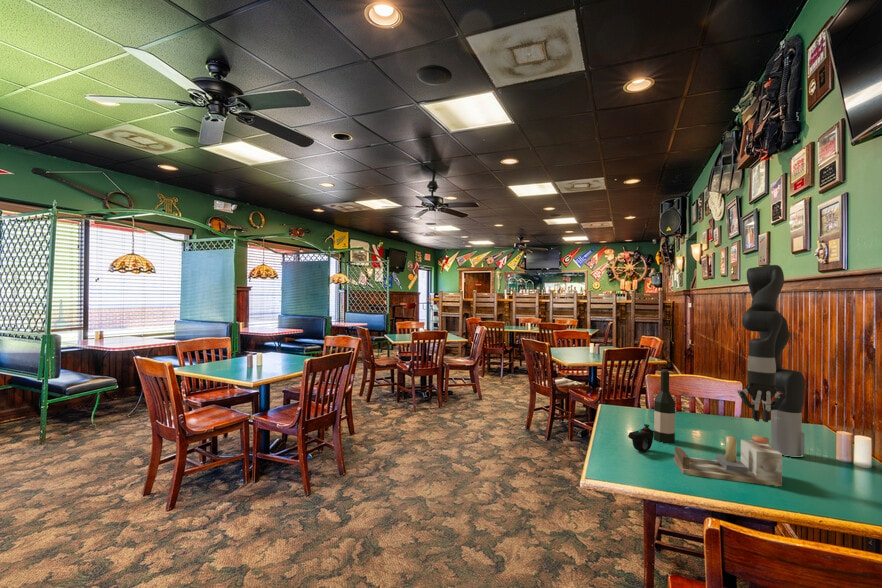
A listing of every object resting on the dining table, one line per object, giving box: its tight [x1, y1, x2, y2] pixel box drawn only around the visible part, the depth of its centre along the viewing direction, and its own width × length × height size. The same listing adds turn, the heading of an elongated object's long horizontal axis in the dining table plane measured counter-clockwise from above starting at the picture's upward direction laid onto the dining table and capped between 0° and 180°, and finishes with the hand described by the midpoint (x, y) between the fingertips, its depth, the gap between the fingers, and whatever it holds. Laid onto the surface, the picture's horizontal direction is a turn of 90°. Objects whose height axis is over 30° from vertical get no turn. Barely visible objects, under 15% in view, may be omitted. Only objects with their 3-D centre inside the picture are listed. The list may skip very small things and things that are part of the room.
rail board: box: [673, 439, 783, 487], centre depth 139 cm, size 28×12×10 cm, turn 73°
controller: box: [627, 423, 654, 453], centre depth 157 cm, size 4×12×10 cm, turn 120°
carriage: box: [714, 435, 748, 473], centre depth 138 cm, size 6×10×10 cm, turn 163°
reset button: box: [751, 435, 770, 445], centre depth 136 cm, size 4×4×1 cm
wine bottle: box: [653, 368, 676, 444], centre depth 171 cm, size 8×8×30 cm
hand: (760, 421), depth 136 cm, fingers closed
